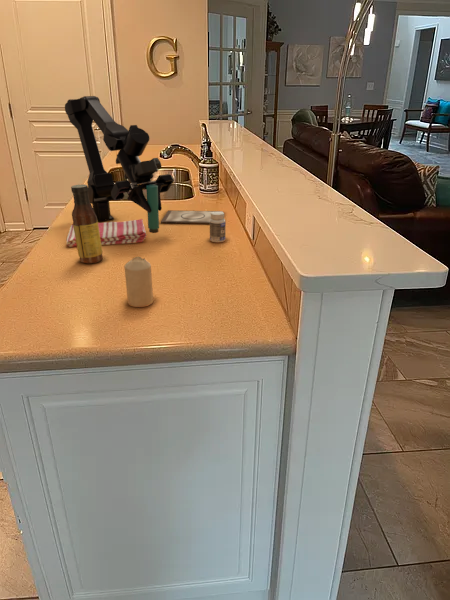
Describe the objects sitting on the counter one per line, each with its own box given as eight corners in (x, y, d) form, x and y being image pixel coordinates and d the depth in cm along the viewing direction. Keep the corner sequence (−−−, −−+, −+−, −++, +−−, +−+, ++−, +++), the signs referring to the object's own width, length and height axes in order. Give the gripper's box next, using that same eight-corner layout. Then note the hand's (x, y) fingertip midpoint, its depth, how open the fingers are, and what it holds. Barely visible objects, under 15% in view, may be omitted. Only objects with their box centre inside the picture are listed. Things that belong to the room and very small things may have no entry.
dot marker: (146, 230, 141) (144, 185, 134) (156, 229, 142) (155, 184, 136) (150, 233, 138) (148, 187, 132) (160, 232, 140) (159, 186, 133)
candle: (129, 297, 106) (125, 254, 101) (153, 296, 106) (151, 254, 102) (126, 307, 101) (122, 263, 96) (152, 307, 101) (149, 263, 97)
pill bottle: (223, 243, 140) (223, 215, 136) (208, 242, 141) (207, 214, 137) (226, 238, 144) (227, 211, 140) (211, 237, 145) (211, 210, 141)
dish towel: (147, 242, 140) (146, 231, 139) (65, 247, 136) (64, 236, 134) (143, 226, 155) (142, 215, 154) (70, 230, 151) (68, 220, 149)
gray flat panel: (160, 223, 158) (160, 221, 158) (168, 211, 172) (168, 209, 172) (220, 224, 157) (220, 222, 157) (222, 212, 171) (222, 210, 170)
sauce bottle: (107, 257, 128) (99, 184, 120) (94, 265, 123) (85, 189, 114) (87, 255, 130) (77, 182, 122) (73, 262, 125) (62, 187, 116)
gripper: (111, 151, 127) (136, 199, 124) (169, 145, 138) (192, 190, 135) (101, 177, 136) (123, 222, 133) (155, 169, 147) (177, 211, 144)
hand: (155, 210), depth 136 cm, fingers closed on dot marker, 3 cm apart
